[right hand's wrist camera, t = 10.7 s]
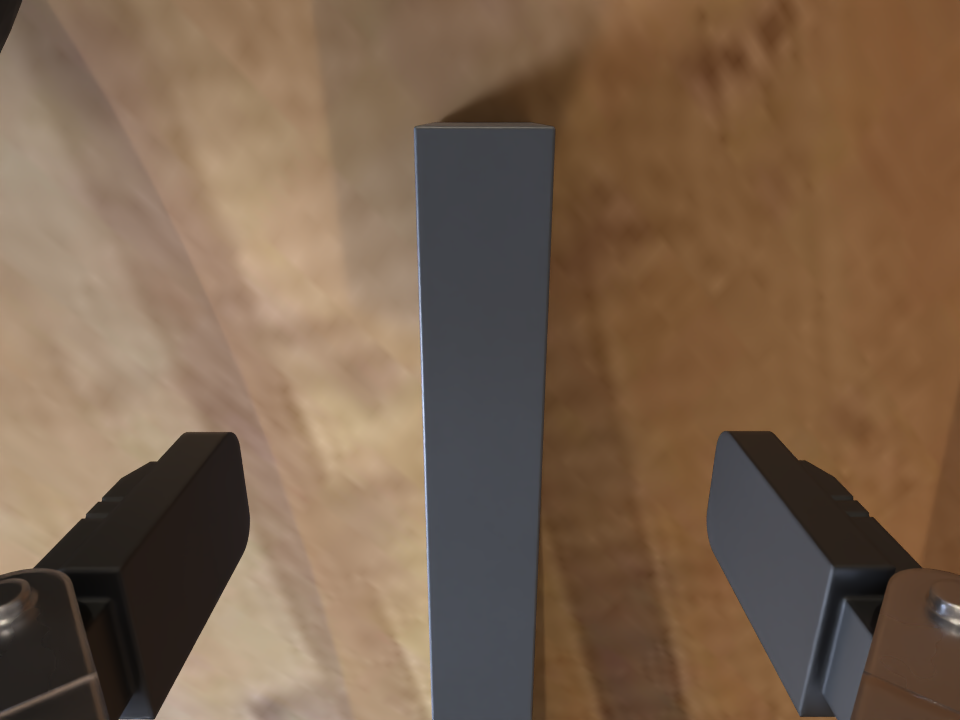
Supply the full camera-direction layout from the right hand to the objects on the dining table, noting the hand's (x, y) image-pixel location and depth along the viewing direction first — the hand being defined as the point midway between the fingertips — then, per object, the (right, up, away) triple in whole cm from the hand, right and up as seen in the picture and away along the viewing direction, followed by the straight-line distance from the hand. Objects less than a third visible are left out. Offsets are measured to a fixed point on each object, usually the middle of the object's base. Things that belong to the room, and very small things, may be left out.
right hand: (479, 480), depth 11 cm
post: (0, -26, +30) cm, 40 cm away
